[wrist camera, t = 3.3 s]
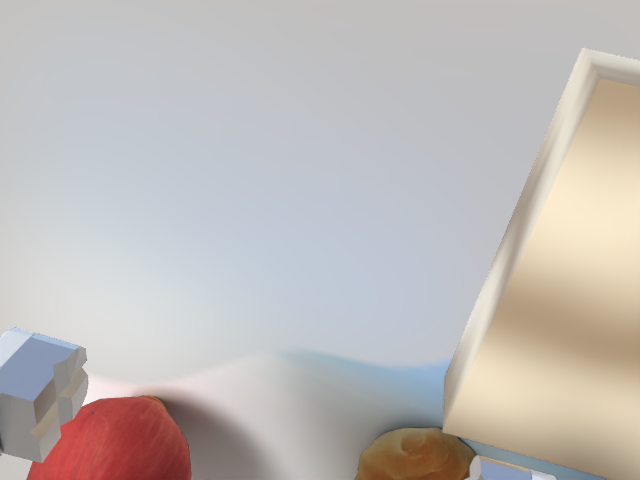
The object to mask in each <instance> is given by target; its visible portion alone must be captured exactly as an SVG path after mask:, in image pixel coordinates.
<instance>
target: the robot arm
mask: <svg viewBox="0 0 640 480" xmlns="http://www.w3.org/2000/svg"><path fill="white" fill-rule="evenodd" d="M86 361H87V357H86V349H85V348H83V347H81V346H78V345H74V344H71V343H68V342H64V341H61V340H58V339H55V338H51V337H48V336H45V335H41V334H37V333H34V332H30V331H27V330H24V329H20V328H17V327H14V328H12V329H10V330H8V331H6V332H5V333H4V334H3V335H2V336H1V337H0V456H1V453H5V454H8V455H12V456H16V457H20V458H24V459H28V460H31V461H35V462H39V463H43V461H44V460H45V458H46V457H47V456H48V454H49V453H50V451H51V450H52V449H53V447H54V446H55V444H56V443H57V442H58V440H59V439H60V437H61V432H60V426H61V425H63V424H65V423H67V422H69V421H71V420H73V419H74V417H75V416H76V414H77V413H78V412H79V410H80V409H81V406H82V404H83V402H84V399H85V397H86V395H87V389H88V375H87V374H86V372H85V371H84V370H83V368H82V366H83V364H84V363H85V362H86ZM464 480H557V479H556V478H555V476H553V475H550V474H546V473H542V472H539V471H535V470H531V469H527V468H526V467H522V466H518V465H514V464H510V463H506V462H503V461H499V460H495V459H491V458H487V457H484V456H480V455H477V456H476V457H475V458H474V459H473V461H472V463H471V465H470V477H469V478H467V479H464Z"/></svg>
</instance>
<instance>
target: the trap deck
mask: <svg viewBox="0 0 640 480" xmlns="http://www.w3.org/2000/svg"><path fill="white" fill-rule="evenodd" d="M442 432H443V433H447V434H451V435H454V436H458V437H461V438H465V439H468V440H472V441H475V442H479V443H482V444H486V445H490V446H493V447H497V448H500V449H504V450H507V451H511V452H514V453H518V454H522V455H525V456H529V457H532V458H536V459H539V460H543V461H546V462H550V463H553V464H557V465H561V466H564V467H568V468H571V469H575V470H578V471H582V472H585V473H589V474H592V475H596V476H600V477H603V478H607V479H610V480H640V61H639V60H635V59H631V58H626V57H622V56H618V55H613V54H609V53H604V52H600V51H596V50H591V49H587V48H582V49H581V52H580V54H579V56H578V59H577V61H576V64H575V66H574V68H573V71H572V73H571V76H570V78H569V80H568V83H567V85H566V88H565V90H564V93H563V95H562V97H561V100H560V102H559V104H558V107H557V109H556V112H555V114H554V116H553V119H552V121H551V124H550V126H549V128H548V131H547V133H546V136H545V138H544V141H543V143H542V146H541V148H540V150H539V153H538V155H537V157H536V160H535V162H534V165H533V167H532V169H531V172H530V174H529V176H528V179H527V181H526V184H525V186H524V188H523V191H522V193H521V196H520V198H519V200H518V203H517V205H516V208H515V210H514V213H513V215H512V217H511V220H510V222H509V225H508V227H507V229H506V232H505V234H504V237H503V239H502V241H501V244H500V246H499V248H498V251H497V253H496V256H495V258H494V260H493V263H492V265H491V268H490V270H489V272H488V275H487V278H486V280H485V282H484V284H483V287H482V289H481V292H480V294H479V296H478V299H477V301H476V304H475V306H474V309H473V311H472V313H471V316H470V318H469V320H468V323H467V325H466V328H465V330H464V333H463V335H462V337H461V340H460V342H459V345H458V347H457V350H456V352H455V354H454V356H453V359H452V361H451V364H450V366H449V368H448V371H447V373H446V376H445V384H444V407H443V430H442Z"/></svg>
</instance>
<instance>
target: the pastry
mask: <svg viewBox="0 0 640 480" xmlns="http://www.w3.org/2000/svg"><path fill="white" fill-rule="evenodd" d="M442 430H443V429H440V428H437V427H432V428H401V429H397V430H393V431H390V432H387V433H384V434H382V435H380V436H378V438H377V439H376V440H375V441H374V442H373V443H372V444H371V445H370V446H369V447H368V448H367V449H366V450H365V451H363V452H362V454H361V456H360V459H359V466H358V475H357V477H356V478H355V480H464V479H467V478H469V477H470V465H471V463H472V461H473V459H474V458H475V457H476V456H475V454H474V453H473V451H472V449H471V448H470V447H468V446H467V445H465V444H464V443H463V442H462V441H460V440H459V439H458V438H457V437H456V436H454V435H451V434H447V433H443V432H442Z"/></svg>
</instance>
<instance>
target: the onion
mask: <svg viewBox="0 0 640 480" xmlns="http://www.w3.org/2000/svg"><path fill="white" fill-rule="evenodd" d="M60 432H61V437H60V439H59V440H58V442H57V443H56V444H55V446H54V447H53V449H52V450H51V451H50V453H49V454H48V456H47V457H46V458H45V460H44V461H43V463H39V462H35V461H33V463H32V466H31V468H30V471H29V474H28V477H27V480H191V464H190V455H189V446H188V443H187V441H186V439H185V438H184V436H183V434H182V432H181V430H180V429H179V427H178V425H177V424H176V422H175V420H174V419H173V418H172V417H171V416H170V415H169V414H168V412H167V410H166V407H165V405H164V404H163V403H162V401H160V400H159V399H157V398H155V397H151V396H140V397H123V398H106V399H99V400H96V401H94V402H92V403H89V404H87V405H85V406H82V407H81V409H80V410H79V412H78V413H77V414H76V416H75V417H74V419H73V420H71V421H69V422H67V423H65V424H63V425H61V426H60Z"/></svg>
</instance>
